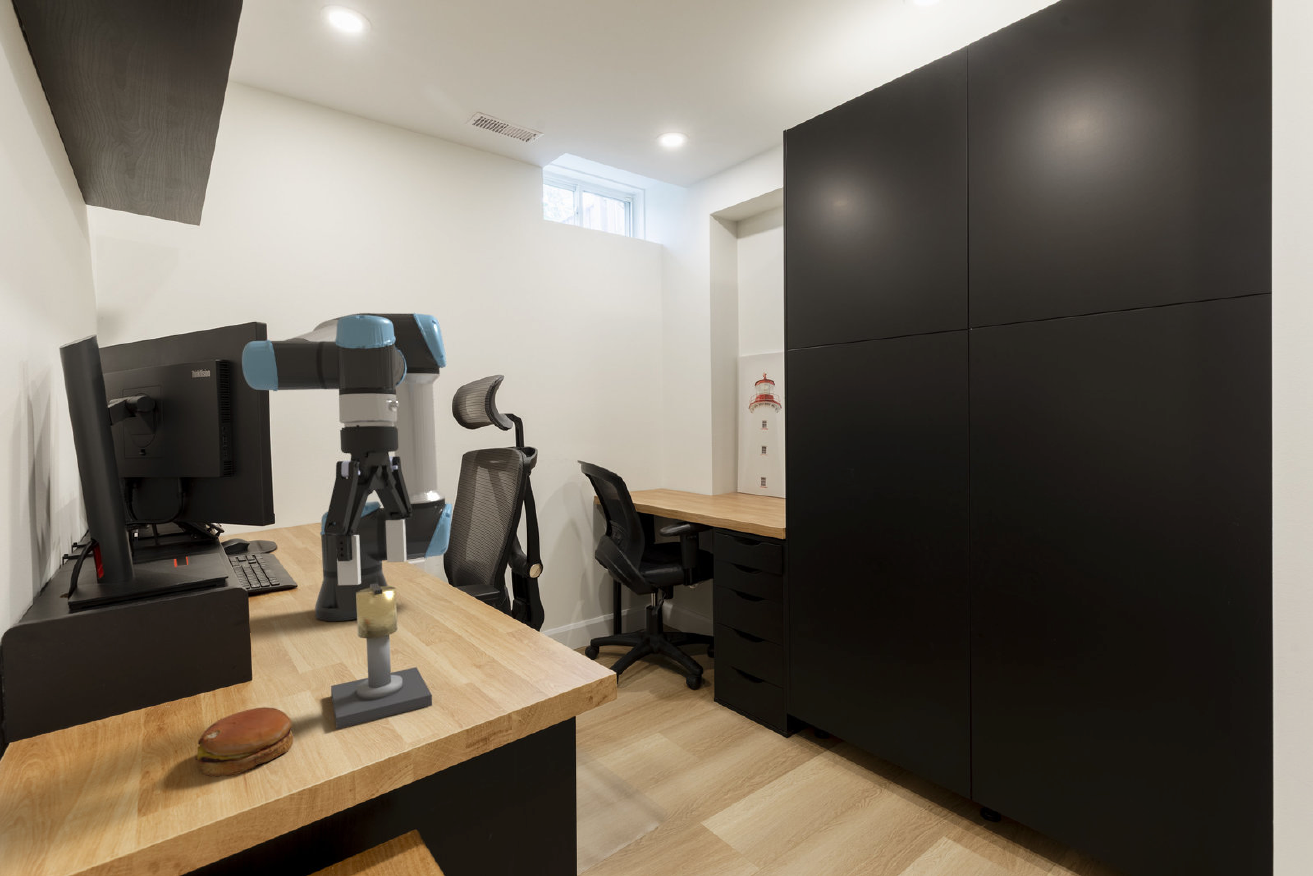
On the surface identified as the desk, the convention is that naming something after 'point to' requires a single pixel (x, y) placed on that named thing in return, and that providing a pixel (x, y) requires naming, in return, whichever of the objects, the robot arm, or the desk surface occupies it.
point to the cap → (376, 611)
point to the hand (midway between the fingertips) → (375, 572)
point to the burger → (244, 741)
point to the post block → (379, 689)
